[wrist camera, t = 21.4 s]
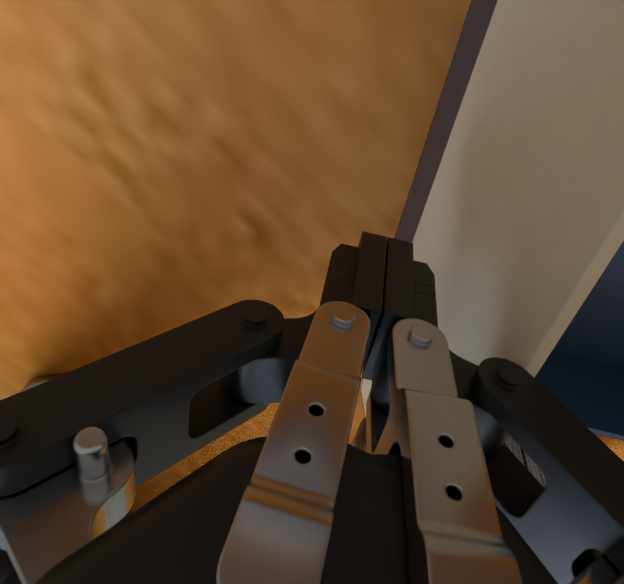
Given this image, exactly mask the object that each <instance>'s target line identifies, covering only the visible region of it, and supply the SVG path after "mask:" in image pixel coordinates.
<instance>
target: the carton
mask: <svg viewBox="0 0 624 584" xmlns="http://www.w3.org/2000/svg"><path fill="white" fill-rule="evenodd" d="M497 1H498V0H472V1H471V4H470V7H469V10H468V13H467V17H466V20H465V23H464V26H463V29H462V32H461V35H460V38H459V41H458V44H457V47H456V50H455V53H454V56H453V59H452V63H451V66H450V69H449V72H448V75H447V78H446V81H445V84H444V87H443V90H442V93H441V96H440V99H439V102H438V106H437V109H436V112H435V115H434V118H433V121H432V124H431V127H430V130H429V133H428V136H427V139H426V142H425V145H424V149H423V152H422V155H421V158H420V161H419V164H418V167H417V170H416V173H415V176H414V179H413V182H412V185H411V188H410V191H409V195H408V198H407V201H406V204H405V207H404V210H403V213H402V216H401V219H400V222H399V225H398V228H397V231H396V234H395V238H394V239H399V240H403V241H407V242H413V239H414V236H415V233H416V230H417V228H418V225H419V222H420V219H421V216H422V213H423V211H424V208H425V205H426V202H427V199H428V196H429V194H430V191H431V188H432V185H433V182H434V180H435V177H436V174H437V171H438V168H439V165H440V163H441V160H442V157H443V154H444V151H445V148H446V146H447V143H448V140H449V137H450V134H451V131H452V129H453V126H454V123H455V120H456V117H457V114H458V112H459V109H460V106H461V103H462V100H463V97H464V95H465V92H466V89H467V86H468V83H469V80H470V78H471V75H472V72H473V69H474V66H475V63H476V61H477V58H478V55H479V52H480V49H481V46H482V44H483V41H484V38H485V35H486V32H487V29H488V27H489V24H490V21H491V18H492V15H493V12H494V10H495V7H496V4H497ZM535 379H536V380H537V381H538V382H539V383H540V384H541V385H542V386H543V387H544V388H546V389H547V390H548V391H549V392H550V393H551V394H552V395H553V396H554V397H555V398H556V399H557V400H558V401H559V402H560V403H562V404H563V405H564V406H565V407H566V408H567V409H568V410H569V411H570V412H571V413H572V414H573V415H574V416H575V417H576V418H577V419H579V420H580V421H581V422H582V423H583V424H584V425H585V426H586V427H587V428H588V429H589V430H590V431H591V432H592V433H594V434H598V435H602V436H606V437H611V438H615V439H619V440H623V441H624V241H623V242H622V244H621V245H620V247H619V249H618V250H617V252H616V253H615V255H614V256H613V258H612V259H611V261H610V262H609V264H608V265H607V267H606V269H605V270H604V272H603V273H602V275H601V276H600V278H599V279H598V281H597V282H596V284H595V285H594V287H593V288H592V290H591V292H590V293H589V295H588V296H587V298H586V299H585V301H584V302H583V304H582V305H581V307H580V308H579V310H578V312H577V313H576V315H575V316H574V318H573V319H572V321H571V322H570V324H569V325H568V327H567V328H566V330H565V332H564V333H563V335H562V336H561V338H560V339H559V341H558V342H557V344H556V345H555V347H554V348H553V350H552V351H551V353H550V355H549V356H548V358H547V359H546V361H545V362H544V364H543V365H542V367H541V368H540V370H539V371H538V373H537V375H536V376H535Z"/></svg>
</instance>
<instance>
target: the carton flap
mask: <svg viewBox="0 0 624 584" xmlns="http://www.w3.org/2000/svg"><path fill="white" fill-rule="evenodd" d="M623 241H624V0H498V1H497V4H496V7H495V10H494V12H493V15H492V18H491V21H490V24H489V27H488V29H487V32H486V35H485V38H484V41H483V44H482V46H481V49H480V52H479V55H478V58H477V61H476V63H475V66H474V69H473V72H472V75H471V78H470V80H469V83H468V86H467V89H466V92H465V95H464V97H463V100H462V103H461V106H460V109H459V112H458V114H457V117H456V120H455V123H454V126H453V129H452V131H451V134H450V137H449V140H448V143H447V146H446V148H445V151H444V154H443V157H442V160H441V163H440V165H439V168H438V171H437V174H436V177H435V180H434V182H433V185H432V188H431V191H430V194H429V196H428V199H427V202H426V205H425V208H424V211H423V213H422V216H421V219H420V222H419V225H418V228H417V230H416V233H415V236H414V239H413V242H412V243H413V260H415V261H419V262H423V263H427V264H428V266H429V267H430V269H431V270H432V272H433V273H434V275H435V289H436V304H437V319H438V329H439V330H440V331H441V332H442V333H443V334H444V335H445V337H446V339H447V342H448V346H449V350H451V351H452V352H453V353H455V354H456V355H458V356H459V357H461V358H463V359H465V360H467V361H469V362H471V363H474V364H476V365H478V366H479V365H480V363H481V362H482V361H483V360H485V359H487V358H492V357H497V358H504V359H507V360H510V361H512V362H514V363H516V364H518V365H520V366H521V367H523V368H524V369H525V370H526V371H527V372H529V373H530V374H531V375H532V376H533V377H534V378H535V376H536V375H537V373H538V371H539V370H540V368H541V367H542V365H543V364H544V362H545V361H546V359H547V358H548V356H549V355H550V353H551V351H552V350H553V348H554V347H555V345H556V344H557V342H558V341H559V339H560V338H561V336H562V335H563V333H564V332H565V330H566V328H567V327H568V325H569V324H570V322H571V321H572V319H573V318H574V316H575V315H576V313H577V312H578V310H579V308H580V307H581V305H582V304H583V302H584V301H585V299H586V298H587V296H588V295H589V293H590V292H591V290H592V288H593V287H594V285H595V284H596V282H597V281H598V279H599V278H600V276H601V275H602V273H603V272H604V270H605V269H606V267H607V265H608V264H609V262H610V261H611V259H612V258H613V256H614V255H615V253H616V252H617V250H618V249H619V247H620V245H621V244H622V242H623ZM371 385H372V380H368V379H364V381H363V383H362V386H361V393H362V398H363V404H364V410H365V416H366V402H367V399H368V396H369V393H370V390H371Z"/></svg>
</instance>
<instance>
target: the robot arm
mask: <svg viewBox="0 0 624 584" xmlns="http://www.w3.org/2000/svg"><path fill="white" fill-rule="evenodd" d="M362 369H363V373H362V378H364V379H368V380H372V385H371V390H370V393H369V396H368V399H367V402H366V452H365V451H363V450H360V449H358V448H356V447H354V446H352V445H350V444H348V440H349V435H350V430H351V425H352V421H353V416H354V411H355V407H356V402H357V397H358V392H359V388H360V382H361V378H360V375H361V372H362ZM278 402H280V403H279V405H278V408H277V411H276V413H275V416H274V419H273V421H272V424H271V427H270V430H269V432H268V435H267V437H259V438H255V439H250V440H247V441H245V442H242V443H239V444H237V445H235V446H233V447H231V448H229V449H227V450H226V451H224V452H222V453H221V454H219V455H218V456H216V457H215V458H214V459H212V460H211V461H209V462H208V463H206V464H205V465H203V466H202V467H200V468H199V469H197V470H196V471H194V472H193V473H191V474H190V475H188V476H187V477H185V478H184V479H182V480H181V481H179V482H178V483H176V484H175V485H173V486H172V487H170V488H169V489H167V490H166V491H165V492H163V493H162V494H160V495H159V496H157V497H156V498H154V499H153V500H151V501H150V502H148V503H147V504H145V505H144V506H142V507H141V508H139V509H138V510H136V511H135V512H133V513H132V514H130V515H129V516H127V515H126V514H127V513H128V512H129V510H130V509H131V507H132V505H133V503H134V500H135V496H136V487H137V486H139V485H140V484H142V483H144V482H145V481H147V480H149V479H150V478H152V477H154V476H155V475H157V474H159V473H160V472H162V471H164V470H166V469H167V468H169V467H171V466H172V465H174V464H176V463H177V462H179V461H181V460H182V459H184V458H186V457H187V456H189V455H191V454H192V453H194V452H196V451H197V450H199V449H201V448H202V447H204V446H206V445H207V444H209V443H211V442H212V441H214V440H216V439H217V438H219V437H221V436H222V435H224V434H226V433H227V432H229V431H231V430H232V429H234V428H236V427H237V426H239V425H241V424H242V423H244V422H246V421H247V420H249V419H251V418H252V417H254V416H256V415H258V414H259V413H261V412H262V411H264V410H265V409H266V408H267V406H268V404H269V403H278ZM509 435H510V437H511V438H512V439H513V440H514V441H515V442H516V443H517V444H518V445H519V446H520V447H521V448H522V449H523V451H524V452H525V453H526V454H527V455H528V456H529V457H530V458H531V459H532V460H533V461H534V462H535V463H536V465H537V466H538V467H539V468H540V469H541V471H542V472H543V474H544V477H545V480H546V487H545V488H544V487H543V486H542V484H541V483H540V482H539V481H538V480H537V479H536V478H535V477H534V476H533V475H532V473H531V472H530V471H529V470H528V469H527V468H526V467H525V466H524V465H523V464H522V462H521V461H520V460H519V459H518V458H517V457H516V456H515V455H514V454H513V453H512V451H511V450H510V449H509V448H508V447H507V446H506V445H505V444H504V443H505V441H506V440H507V438H508V437H509ZM0 584H624V462H623V461H622V460H621V459H620V458H619V457H618V456H617V455H616V454H615V453H614V452H613V451H612V450H611V449H609V448H608V447H607V446H606V445H605V444H604V443H603V442H602V441H601V440H600V439H599V438H598V437H597V436H596V435H595V434H593V433H592V432H591V431H590V430H589V429H588V428H587V427H586V426H585V425H584V424H583V423H582V422H581V421H580V420H579V419H577V418H576V417H575V416H574V415H573V414H572V413H571V412H570V411H569V410H568V409H567V408H566V407H565V406H564V405H563V404H562V403H560V402H559V401H558V400H557V399H556V398H555V397H554V396H553V395H552V394H551V393H550V392H549V391H548V390H547V389H546V388H544V387H543V386H542V385H541V384H540V383H539V382H538V381H537V380H536V379H535V378H534V377H533V376H532V375H531V374H530V373H529V372H527V371H526V370H525V369H524V368H523V367H521V366H520V365H518V364H516V363H514V362H512V361H510V360H507V359H504V358H497V357H492V358H487V359H485V360H483V361H482V362H481V363H480V365H479V366H478V365H476V364H474V363H471V362H469V361H467V360H465V359H463V358H461V357H459V356H458V355H456V354H455V353H453V352H452V351H451V350H449V346H448V342H447V339H446V337H445V335H444V334H443V333H442V332H441V331H440V330H439V329H438V319H437V304H436V289H435V275H434V273H433V272H432V270H431V269H430V267H429V266H428V264H427V263H423V262H419V261H415V260H413V243H412V242H407V241H403V240H399V239H394V238H390V237H388V239H387V237H385V236H381V235H377V234H372V233H368V232H364V231H363V232H362V234H361V238H360V242H359V245H358V247H354V246H350V245H345V244H341V245H339V246H338V247H337V248H336V249H335V250H333V251H332V255H331V259H330V264H329V268H328V272H327V276H326V280H325V285H324V289H323V293H322V298H321V302H320V306H319V307H318V309H317V310H316V311H315V312H314V313H313V314H311V315H309V316H306V317H303V318H294V319H284V317H283V315H282V313H281V312H280V311H279V310H278V309H277V308H276V307H275V306H273V305H271V304H269V303H267V302H264V301H260V300H244V301H240V302H237V303H235V304H232V305H230V306H228V307H225V308H223V309H220V310H218V311H215V312H213V313H211V314H208V315H206V316H203V317H201V318H199V319H196V320H194V321H191V322H189V323H186V324H184V325H182V326H179V327H177V328H174V329H172V330H170V331H167V332H165V333H162V334H160V335H157V336H155V337H153V338H150V339H148V340H145V341H143V342H141V343H138V344H136V345H133V346H131V347H128V348H126V349H124V350H121V351H119V352H116V353H114V354H112V355H109V356H107V357H104V358H102V359H99V360H97V361H95V362H92V363H90V364H87V365H85V366H83V367H80V368H78V369H75V370H73V371H71V372H68V373H66V374H63V375H61V376H45V377H40V378H37V379H35V380H32V381H31V382H29V383H28V384H27V385H26V386H25V387H24V388H23V390H22V391H21V392H20V393H17V394H15V395H13V396H10V397H8V398H5V399H3V400H0Z"/></svg>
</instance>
